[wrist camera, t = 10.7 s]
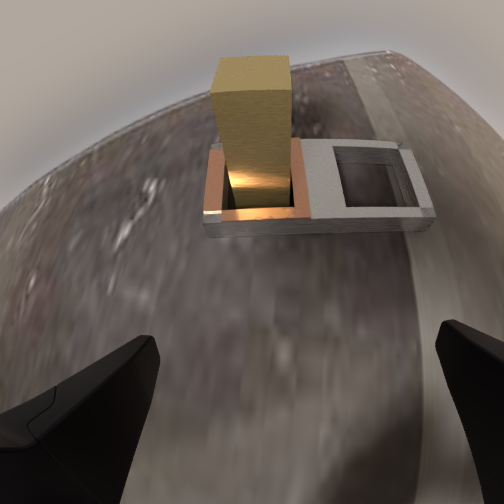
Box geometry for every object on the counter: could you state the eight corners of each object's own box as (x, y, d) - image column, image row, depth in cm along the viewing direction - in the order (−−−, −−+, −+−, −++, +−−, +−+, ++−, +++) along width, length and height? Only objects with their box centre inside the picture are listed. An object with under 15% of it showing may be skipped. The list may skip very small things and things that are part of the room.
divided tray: (401, 158, 28) (408, 141, 25) (425, 230, 24) (437, 216, 21) (215, 160, 29) (210, 142, 27) (209, 238, 25) (202, 222, 23)
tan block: (288, 175, 28) (288, 55, 16) (288, 214, 26) (291, 89, 14) (241, 175, 28) (220, 58, 16) (238, 214, 26) (209, 92, 14)
